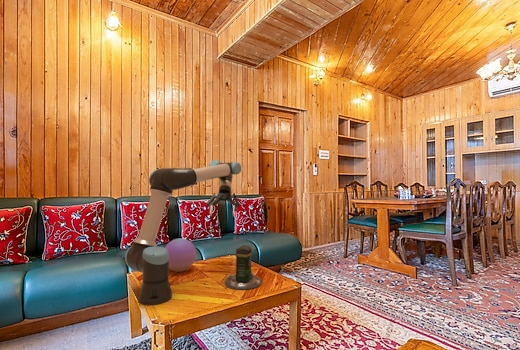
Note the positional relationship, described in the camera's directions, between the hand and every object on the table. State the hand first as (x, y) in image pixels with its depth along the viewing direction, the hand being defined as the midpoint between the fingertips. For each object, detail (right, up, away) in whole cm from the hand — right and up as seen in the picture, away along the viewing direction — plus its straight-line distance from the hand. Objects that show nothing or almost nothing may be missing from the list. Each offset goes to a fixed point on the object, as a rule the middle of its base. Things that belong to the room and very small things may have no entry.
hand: (222, 214), depth 169 cm
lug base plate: (+13, -36, -13) cm, 40 cm away
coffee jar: (+14, -34, -13) cm, 39 cm away
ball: (-27, -36, +7) cm, 46 cm away
